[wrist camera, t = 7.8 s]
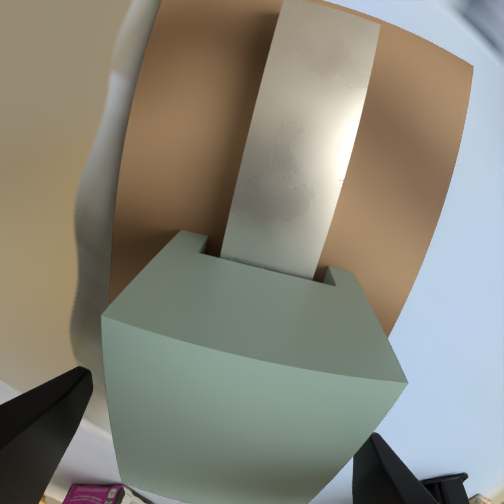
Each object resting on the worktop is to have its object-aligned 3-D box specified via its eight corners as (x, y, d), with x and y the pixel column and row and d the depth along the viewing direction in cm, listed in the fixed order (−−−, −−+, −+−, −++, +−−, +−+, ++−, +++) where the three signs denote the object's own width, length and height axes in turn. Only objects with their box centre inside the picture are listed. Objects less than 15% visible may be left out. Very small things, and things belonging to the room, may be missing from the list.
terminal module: (290, 413, 14) (291, 518, 8) (162, 383, 14) (121, 482, 8) (353, 272, 11) (408, 382, 6) (181, 229, 11) (100, 315, 6)
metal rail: (240, 443, 15) (237, 464, 14) (188, 431, 15) (182, 451, 14) (367, 38, 8) (380, 24, 7) (283, 13, 8) (284, -4, 7)
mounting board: (308, 449, 17) (309, 461, 16) (121, 406, 16) (115, 417, 16) (461, 69, 9) (473, 66, 8) (176, -10, 9) (169, -20, 8)
